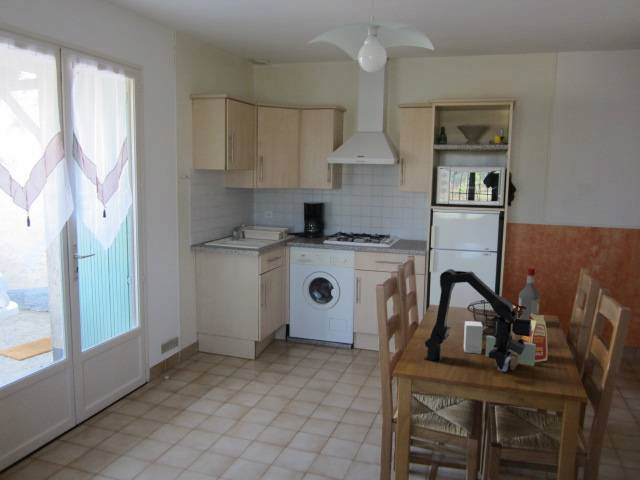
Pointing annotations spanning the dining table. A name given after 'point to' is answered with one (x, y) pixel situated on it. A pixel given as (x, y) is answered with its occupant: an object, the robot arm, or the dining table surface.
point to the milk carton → (538, 337)
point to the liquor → (529, 297)
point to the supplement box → (473, 337)
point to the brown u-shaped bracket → (513, 361)
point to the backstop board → (524, 358)
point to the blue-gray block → (506, 364)
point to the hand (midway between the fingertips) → (500, 369)
